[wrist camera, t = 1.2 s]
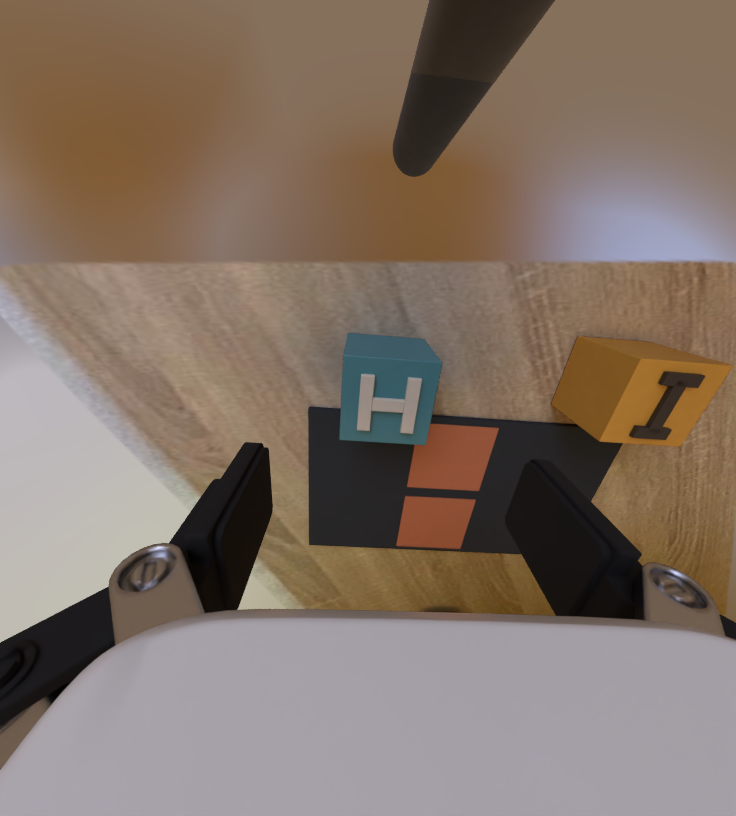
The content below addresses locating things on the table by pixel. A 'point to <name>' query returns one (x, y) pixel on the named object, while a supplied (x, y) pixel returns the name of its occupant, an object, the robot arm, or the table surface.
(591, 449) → the word mat
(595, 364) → the letter i
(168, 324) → the table surface
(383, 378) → the letter h
